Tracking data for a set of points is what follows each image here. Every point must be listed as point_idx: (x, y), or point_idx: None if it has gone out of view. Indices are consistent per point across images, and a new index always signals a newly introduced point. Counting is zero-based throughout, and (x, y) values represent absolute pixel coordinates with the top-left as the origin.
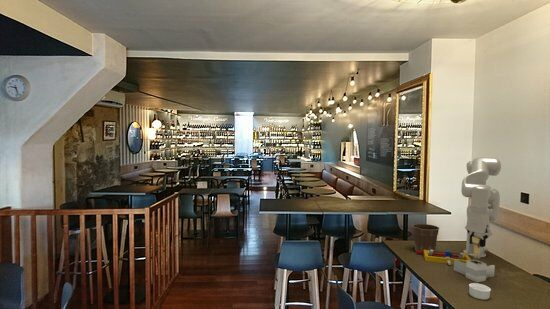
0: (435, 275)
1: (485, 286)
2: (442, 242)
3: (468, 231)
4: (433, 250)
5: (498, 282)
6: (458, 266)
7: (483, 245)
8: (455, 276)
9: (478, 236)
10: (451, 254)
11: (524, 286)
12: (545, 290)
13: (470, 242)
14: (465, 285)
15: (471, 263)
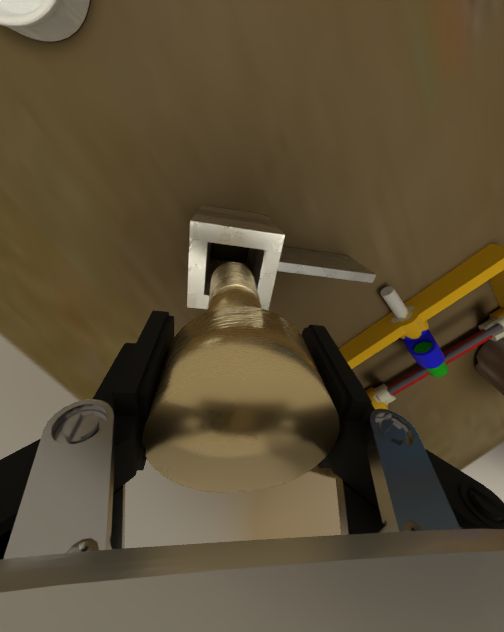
0: (388, 58)
1: (1, 15)
2: (470, 452)
3: (468, 497)
4: (490, 358)
5: (164, 302)
6: (334, 261)
7: (128, 344)
8: (304, 179)
9: (259, 472)
10: (415, 353)
11: (101, 351)
12: (53, 378)
13: (315, 331)
14: (196, 82)
15: (242, 228)
